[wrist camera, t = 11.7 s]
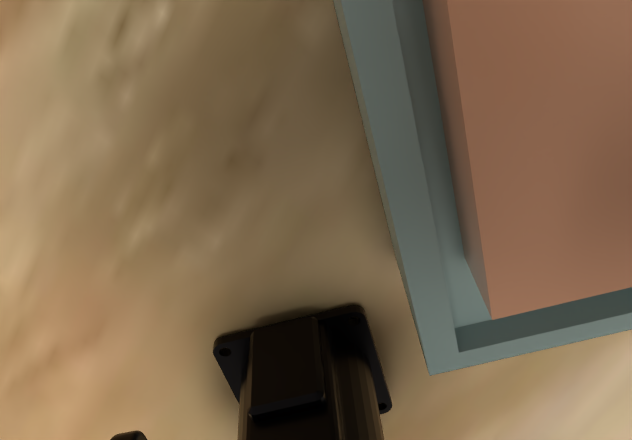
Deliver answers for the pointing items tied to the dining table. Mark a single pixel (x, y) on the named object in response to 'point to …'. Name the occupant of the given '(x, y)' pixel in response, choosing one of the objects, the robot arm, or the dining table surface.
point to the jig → (440, 202)
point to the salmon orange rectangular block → (538, 144)
